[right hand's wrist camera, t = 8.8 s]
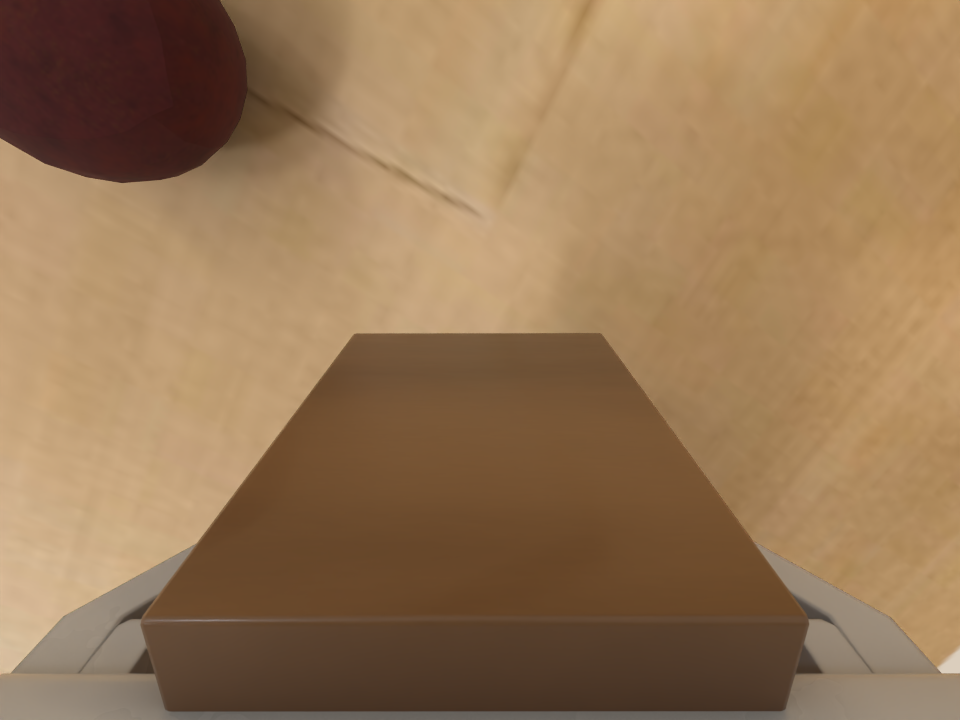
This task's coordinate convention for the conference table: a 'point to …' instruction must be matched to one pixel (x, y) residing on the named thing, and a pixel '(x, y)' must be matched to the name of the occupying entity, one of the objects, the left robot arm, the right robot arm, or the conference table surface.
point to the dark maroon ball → (120, 84)
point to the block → (475, 550)
